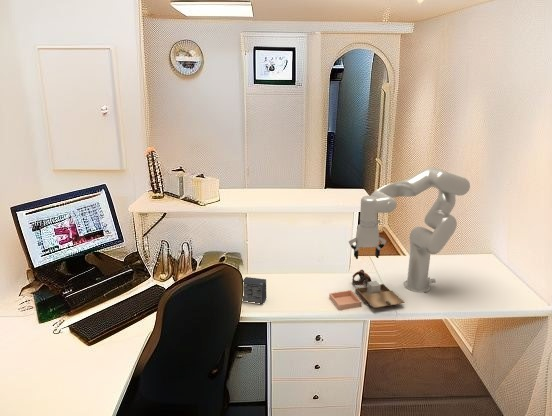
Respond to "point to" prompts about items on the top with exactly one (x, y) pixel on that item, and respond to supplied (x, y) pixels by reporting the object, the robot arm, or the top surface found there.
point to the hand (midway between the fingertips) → (366, 257)
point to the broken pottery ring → (363, 278)
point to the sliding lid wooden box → (378, 297)
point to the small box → (254, 290)
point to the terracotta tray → (345, 300)
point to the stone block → (373, 287)
